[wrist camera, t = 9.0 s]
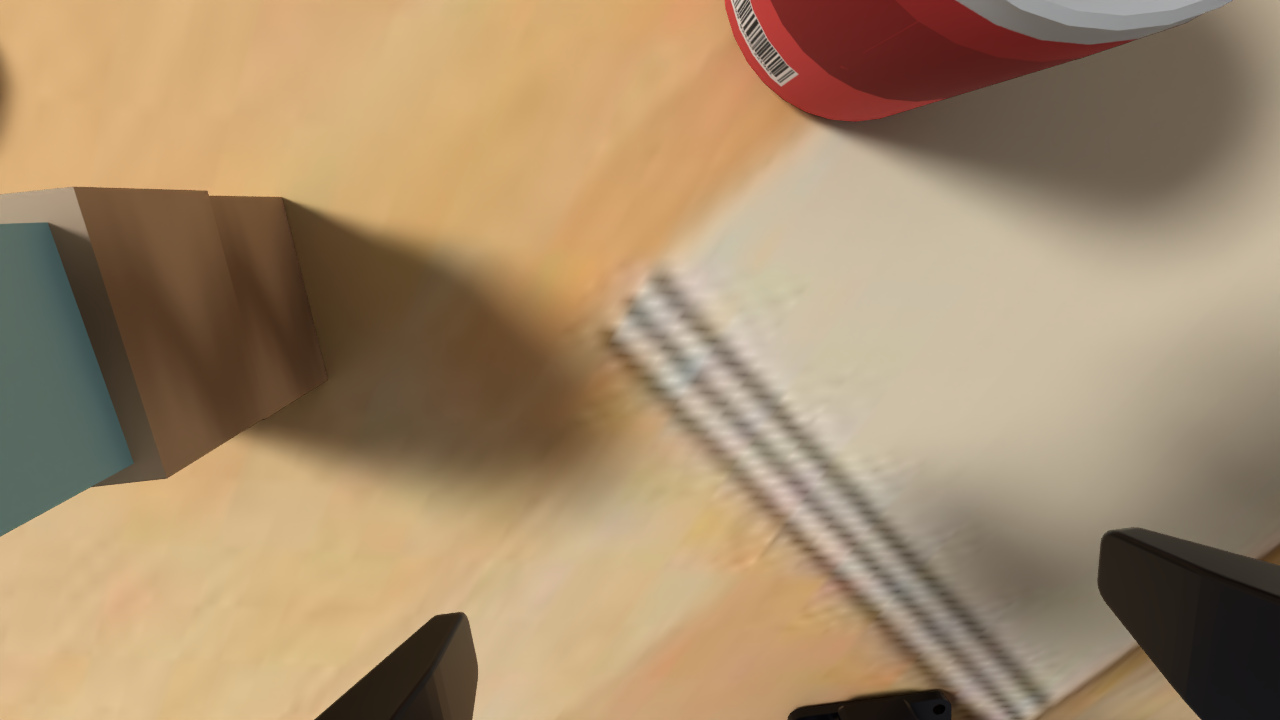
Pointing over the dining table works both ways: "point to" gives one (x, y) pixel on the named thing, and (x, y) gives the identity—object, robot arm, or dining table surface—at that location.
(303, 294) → the tower base
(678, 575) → the dining table surface
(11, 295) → the teal block
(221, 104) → the dining table surface
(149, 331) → the tower top
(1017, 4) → the canned food
